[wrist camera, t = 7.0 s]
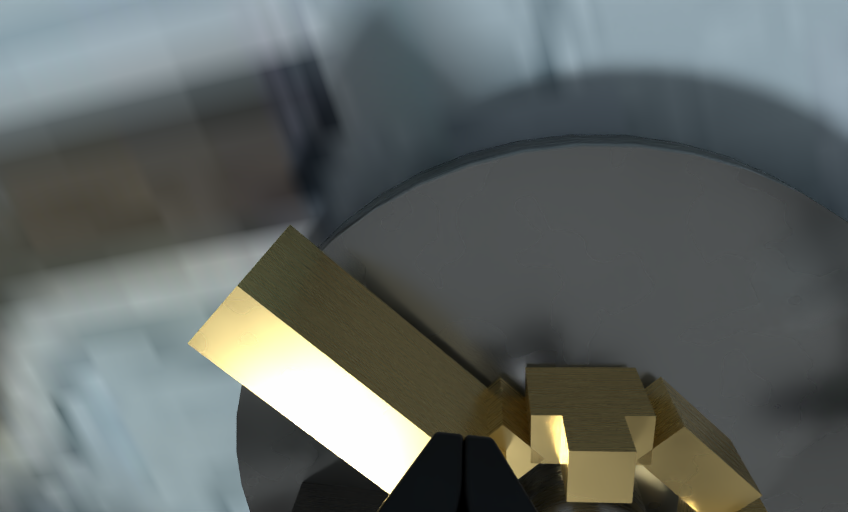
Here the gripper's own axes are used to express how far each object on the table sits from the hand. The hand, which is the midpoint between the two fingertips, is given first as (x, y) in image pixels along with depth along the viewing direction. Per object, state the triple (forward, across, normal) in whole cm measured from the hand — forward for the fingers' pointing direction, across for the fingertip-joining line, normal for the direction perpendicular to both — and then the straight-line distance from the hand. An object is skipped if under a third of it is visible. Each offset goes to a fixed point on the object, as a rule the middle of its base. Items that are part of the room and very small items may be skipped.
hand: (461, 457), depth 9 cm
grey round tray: (+8, -4, +7) cm, 11 cm away
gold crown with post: (+7, -1, +5) cm, 8 cm away
